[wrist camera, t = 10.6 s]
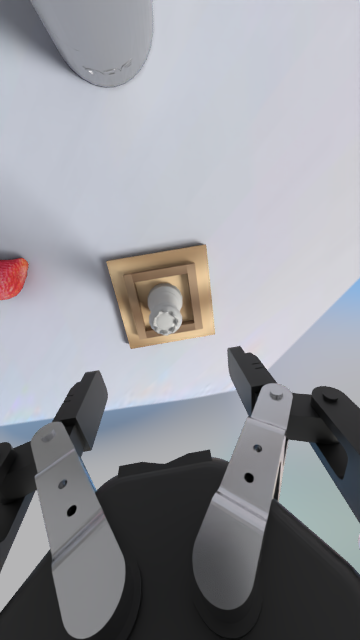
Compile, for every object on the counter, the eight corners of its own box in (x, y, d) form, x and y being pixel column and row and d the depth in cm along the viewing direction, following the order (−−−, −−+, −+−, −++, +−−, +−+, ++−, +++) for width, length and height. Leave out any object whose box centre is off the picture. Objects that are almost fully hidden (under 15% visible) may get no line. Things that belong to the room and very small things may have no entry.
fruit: (46, 275, 26) (21, 283, 22) (13, 302, 27) (-18, 316, 22) (17, 245, 25) (-16, 248, 20) (-17, 275, 26) (-56, 284, 21)
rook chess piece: (170, 275, 26) (173, 291, 19) (188, 304, 28) (197, 329, 20) (140, 294, 27) (131, 317, 19) (160, 321, 28) (158, 352, 21)
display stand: (108, 260, 26) (103, 262, 24) (204, 244, 26) (208, 245, 24) (131, 344, 31) (129, 353, 28) (213, 330, 31) (217, 338, 29)
